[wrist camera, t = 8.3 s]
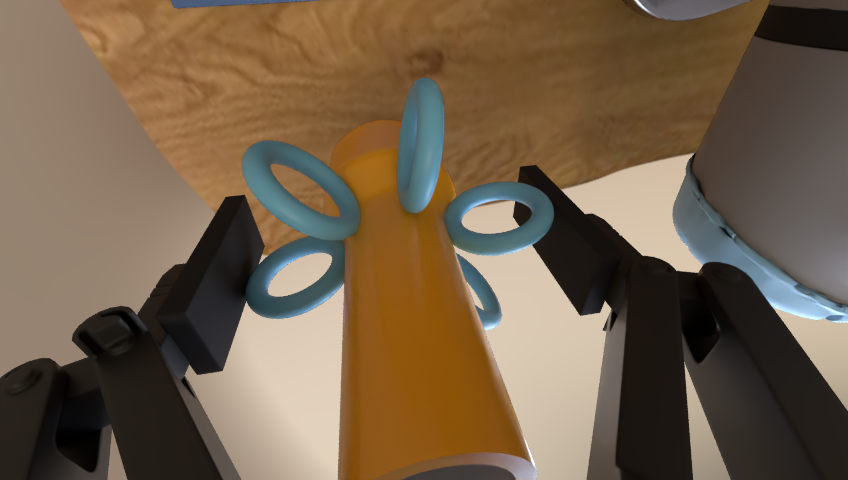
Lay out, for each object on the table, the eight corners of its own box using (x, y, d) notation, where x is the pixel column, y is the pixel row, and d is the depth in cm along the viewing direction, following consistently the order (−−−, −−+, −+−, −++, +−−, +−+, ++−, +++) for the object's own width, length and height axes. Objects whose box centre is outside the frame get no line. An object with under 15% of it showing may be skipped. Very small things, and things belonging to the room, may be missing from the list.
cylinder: (526, 168, 20) (779, 439, 8) (407, 279, 24) (461, 579, 12) (351, -9, 14) (329, 38, 2) (227, 177, 18) (-39, 584, 6)
